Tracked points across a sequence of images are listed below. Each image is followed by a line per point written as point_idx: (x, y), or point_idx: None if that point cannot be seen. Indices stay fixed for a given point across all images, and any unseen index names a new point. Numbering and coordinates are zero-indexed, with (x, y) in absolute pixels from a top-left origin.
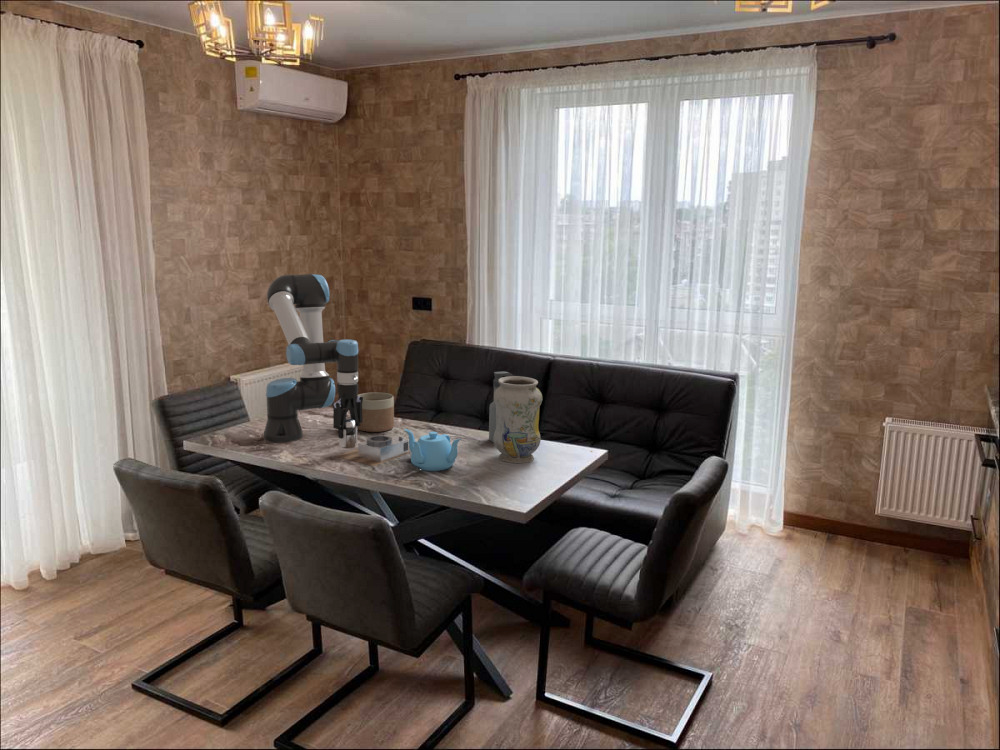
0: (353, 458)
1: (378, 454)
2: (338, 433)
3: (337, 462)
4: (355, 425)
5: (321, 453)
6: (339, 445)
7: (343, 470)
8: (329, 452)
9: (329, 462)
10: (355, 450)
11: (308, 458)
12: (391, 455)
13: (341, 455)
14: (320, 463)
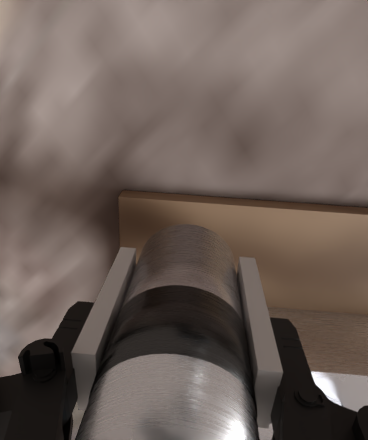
0: None
1: None
2: (55, 336)
3: (91, 234)
4: (270, 416)
5: (159, 13)
6: (120, 249)
7: (29, 325)
8: (211, 49)
9: (61, 200)
10: (279, 222)
11: (20, 24)
12: None
13: (150, 217)
14: (14, 171)
